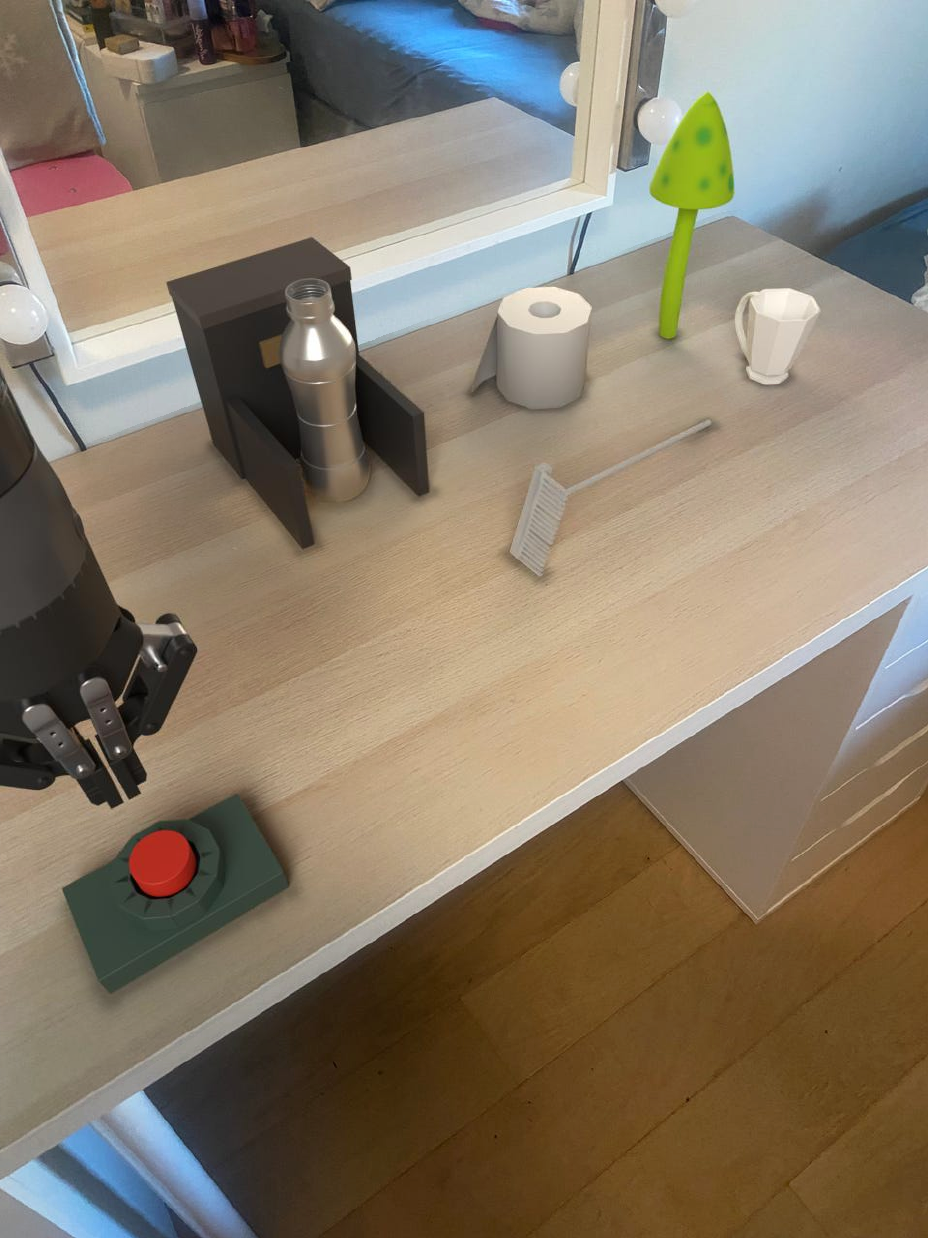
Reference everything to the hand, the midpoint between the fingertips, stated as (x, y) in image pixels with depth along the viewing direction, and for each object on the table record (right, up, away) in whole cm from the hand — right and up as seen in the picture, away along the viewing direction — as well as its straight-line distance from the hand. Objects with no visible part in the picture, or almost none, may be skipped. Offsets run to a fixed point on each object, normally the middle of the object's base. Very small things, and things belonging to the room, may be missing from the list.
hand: (120, 789), depth 48 cm
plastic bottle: (+7, +22, +37) cm, 43 cm away
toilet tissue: (+25, +34, +48) cm, 64 cm away
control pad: (0, -9, +10) cm, 13 cm away
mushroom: (+42, +42, +54) cm, 80 cm away
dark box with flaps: (+4, +24, +39) cm, 46 cm away
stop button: (0, -6, +7) cm, 9 cm away
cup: (+51, +37, +49) cm, 79 cm away
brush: (+33, +21, +35) cm, 53 cm away
